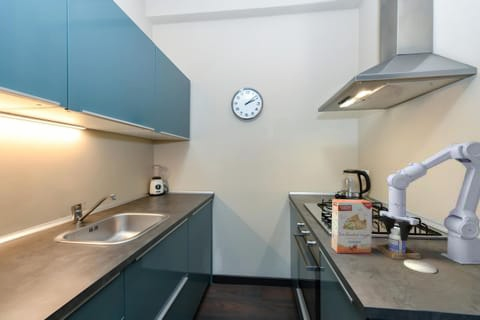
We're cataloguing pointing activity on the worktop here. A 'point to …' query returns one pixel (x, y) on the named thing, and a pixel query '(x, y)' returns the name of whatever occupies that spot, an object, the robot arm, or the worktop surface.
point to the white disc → (420, 266)
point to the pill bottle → (396, 242)
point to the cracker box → (351, 226)
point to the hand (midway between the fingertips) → (396, 237)
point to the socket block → (411, 254)
